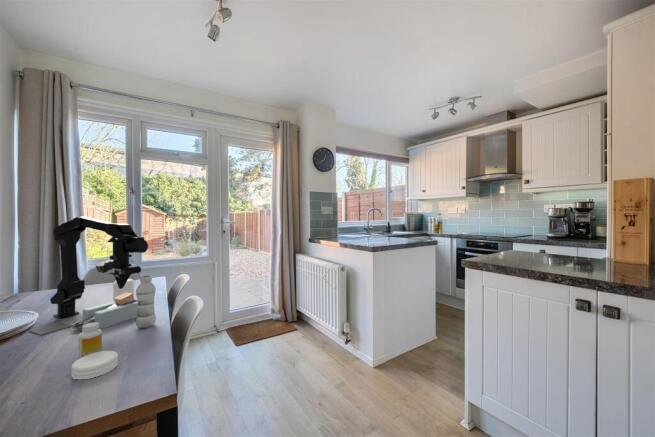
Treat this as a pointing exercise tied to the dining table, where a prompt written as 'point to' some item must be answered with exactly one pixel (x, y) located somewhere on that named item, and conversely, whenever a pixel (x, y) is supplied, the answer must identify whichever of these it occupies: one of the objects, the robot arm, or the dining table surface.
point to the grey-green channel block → (111, 313)
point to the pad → (50, 328)
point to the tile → (123, 298)
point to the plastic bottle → (145, 303)
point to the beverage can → (127, 288)
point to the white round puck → (94, 364)
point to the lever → (92, 318)
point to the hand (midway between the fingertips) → (121, 288)
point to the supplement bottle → (90, 339)
